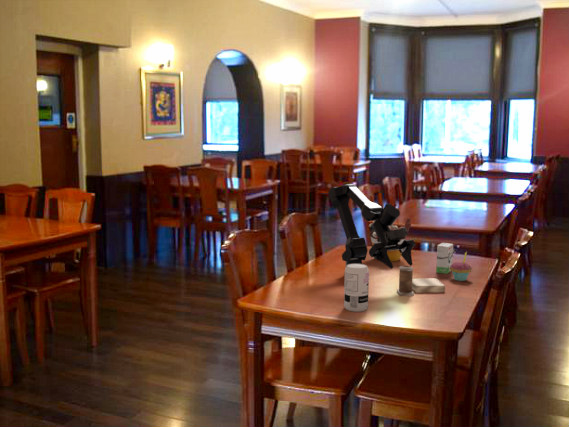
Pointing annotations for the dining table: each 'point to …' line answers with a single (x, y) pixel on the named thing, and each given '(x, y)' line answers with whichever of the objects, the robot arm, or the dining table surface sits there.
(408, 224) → the bucket of meat
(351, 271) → the supplement can
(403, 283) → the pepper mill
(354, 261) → the robot arm
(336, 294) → the dining table surface
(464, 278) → the cupcake
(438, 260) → the ink box
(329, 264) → the dining table surface
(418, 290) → the birch block
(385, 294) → the dining table surface
